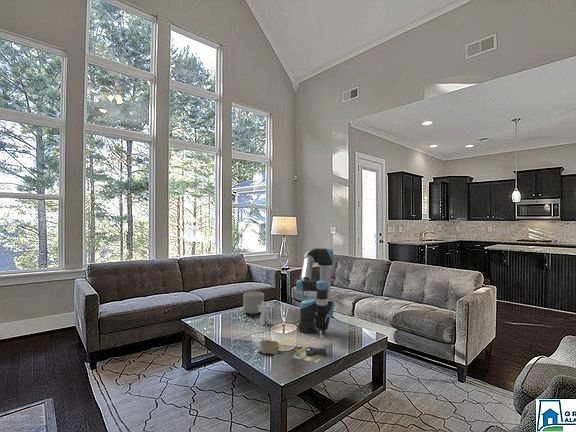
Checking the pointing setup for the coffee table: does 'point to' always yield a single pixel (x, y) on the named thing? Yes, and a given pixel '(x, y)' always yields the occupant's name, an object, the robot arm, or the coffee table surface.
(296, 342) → the coffee table surface
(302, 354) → the tuner board
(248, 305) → the planter
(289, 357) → the coffee table surface
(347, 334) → the coffee table surface
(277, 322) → the coffee table surface
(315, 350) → the peg dial
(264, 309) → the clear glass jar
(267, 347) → the decorative stone
